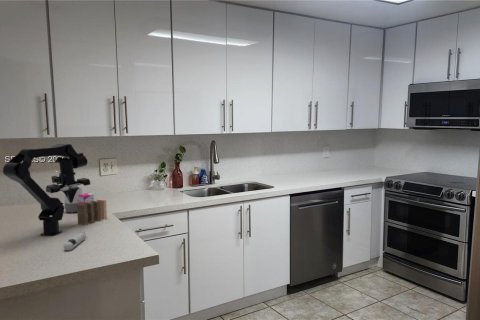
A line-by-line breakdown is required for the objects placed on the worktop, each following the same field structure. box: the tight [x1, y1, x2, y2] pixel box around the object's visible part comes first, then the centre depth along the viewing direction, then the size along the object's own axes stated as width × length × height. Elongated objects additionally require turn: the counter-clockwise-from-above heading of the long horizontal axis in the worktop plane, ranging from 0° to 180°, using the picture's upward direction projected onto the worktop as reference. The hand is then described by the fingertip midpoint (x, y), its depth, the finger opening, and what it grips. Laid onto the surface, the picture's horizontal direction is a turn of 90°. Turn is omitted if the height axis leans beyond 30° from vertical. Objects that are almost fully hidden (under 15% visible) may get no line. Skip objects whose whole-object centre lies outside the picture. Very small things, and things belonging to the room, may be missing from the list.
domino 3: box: [90, 200, 102, 222], centre depth 185 cm, size 2×5×10 cm, turn 64°
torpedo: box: [63, 224, 87, 251], centre depth 148 cm, size 18×5×7 cm, turn 3°
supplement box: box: [79, 192, 95, 204], centre depth 196 cm, size 6×6×12 cm
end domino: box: [96, 198, 108, 220], centre depth 188 cm, size 2×5×10 cm, turn 64°
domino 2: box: [84, 202, 95, 224], centre depth 181 cm, size 2×5×10 cm, turn 64°
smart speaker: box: [64, 186, 83, 214], centre depth 203 cm, size 10×9×14 cm
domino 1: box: [77, 204, 89, 226], centre depth 177 cm, size 2×5×10 cm, turn 64°
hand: (70, 202), depth 172 cm, fingers closed
